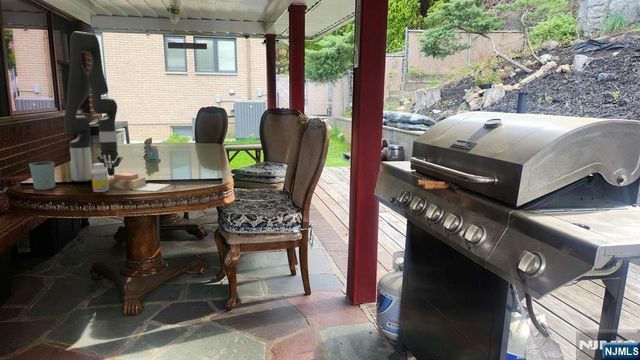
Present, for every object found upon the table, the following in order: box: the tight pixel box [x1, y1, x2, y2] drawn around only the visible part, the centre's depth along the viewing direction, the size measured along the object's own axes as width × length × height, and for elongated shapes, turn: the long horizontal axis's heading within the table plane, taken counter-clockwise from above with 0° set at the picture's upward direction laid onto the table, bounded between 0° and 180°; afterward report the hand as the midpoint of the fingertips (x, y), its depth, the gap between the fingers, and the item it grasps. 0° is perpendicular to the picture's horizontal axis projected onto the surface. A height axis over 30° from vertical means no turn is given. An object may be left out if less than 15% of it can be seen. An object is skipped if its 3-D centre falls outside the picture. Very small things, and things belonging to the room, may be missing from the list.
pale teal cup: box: [29, 161, 56, 191], centre depth 202 cm, size 10×10×12 cm
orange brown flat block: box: [114, 172, 139, 180], centre depth 207 cm, size 9×6×2 cm, turn 81°
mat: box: [132, 183, 171, 192], centre depth 206 cm, size 12×14×1 cm
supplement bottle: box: [91, 162, 110, 193], centre depth 197 cm, size 7×7×13 cm
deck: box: [107, 174, 147, 190], centre depth 208 cm, size 20×10×4 cm, turn 81°
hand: (111, 175), depth 208 cm, fingers closed
